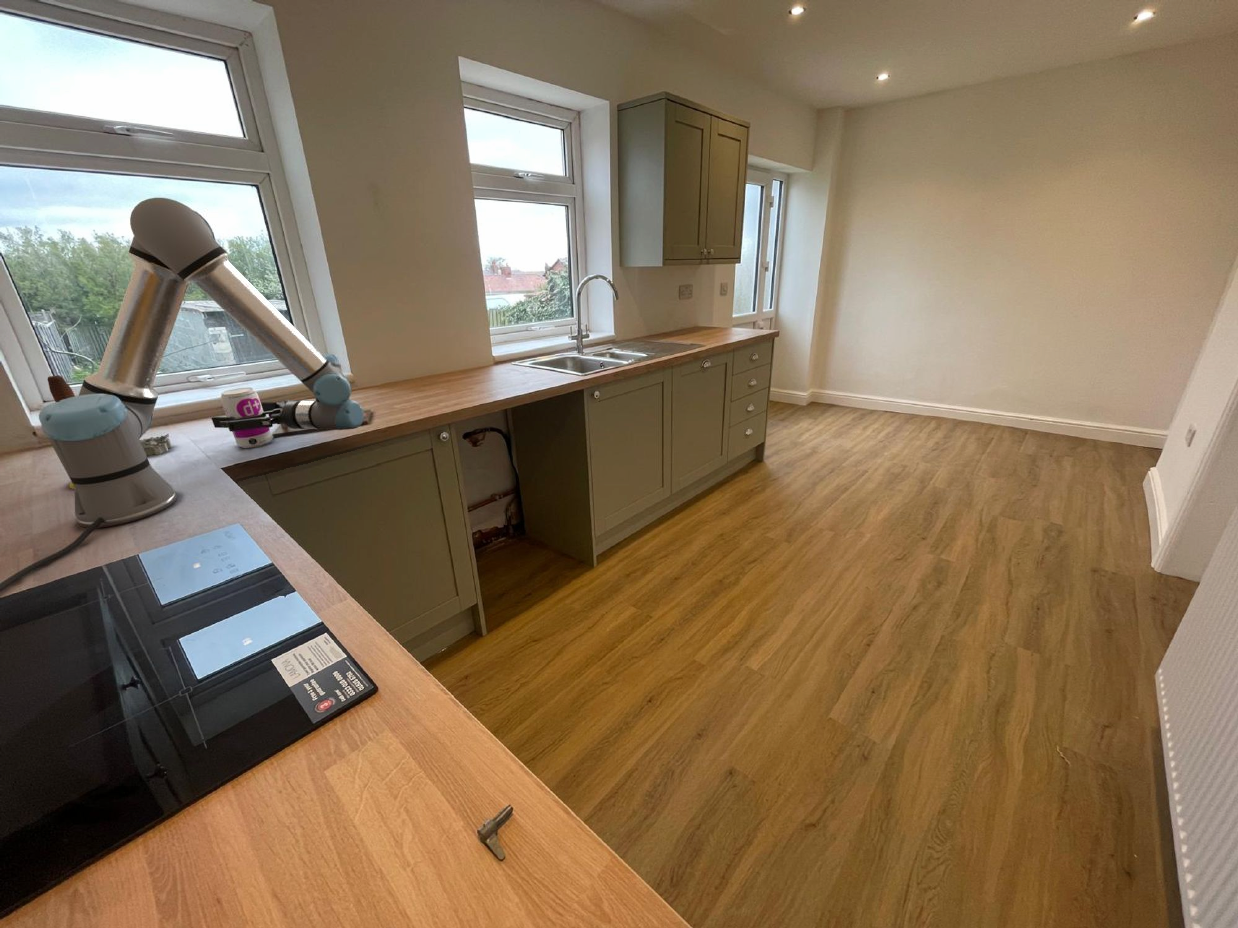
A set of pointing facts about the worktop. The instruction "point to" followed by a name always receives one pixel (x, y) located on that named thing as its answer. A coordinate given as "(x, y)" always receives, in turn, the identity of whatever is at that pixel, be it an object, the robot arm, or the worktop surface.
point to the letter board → (285, 430)
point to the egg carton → (156, 445)
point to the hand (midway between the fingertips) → (236, 414)
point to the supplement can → (245, 415)
